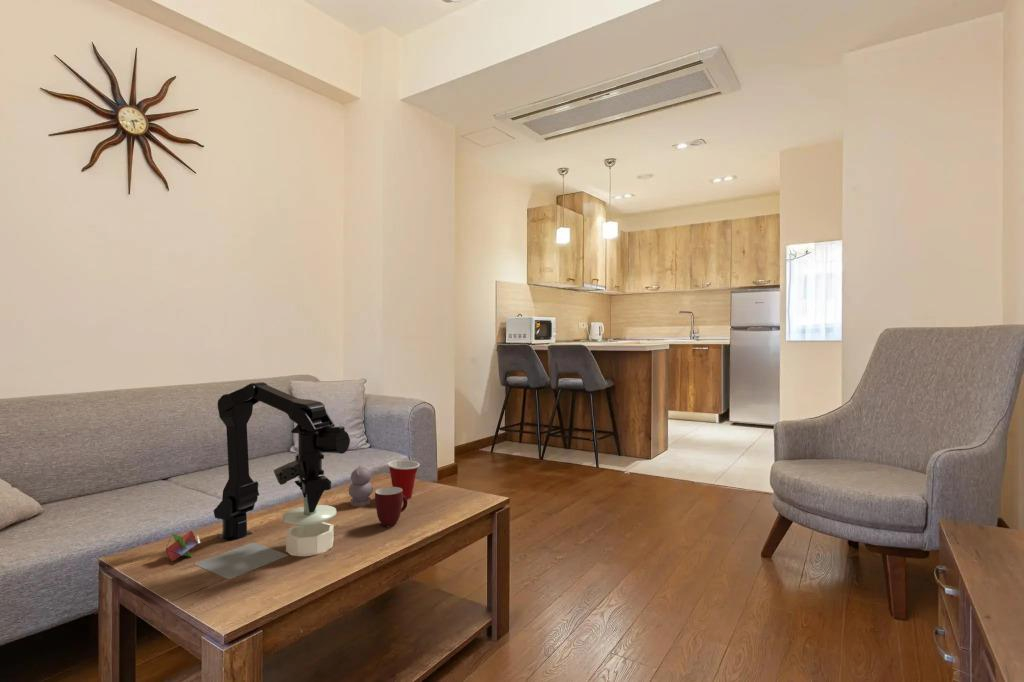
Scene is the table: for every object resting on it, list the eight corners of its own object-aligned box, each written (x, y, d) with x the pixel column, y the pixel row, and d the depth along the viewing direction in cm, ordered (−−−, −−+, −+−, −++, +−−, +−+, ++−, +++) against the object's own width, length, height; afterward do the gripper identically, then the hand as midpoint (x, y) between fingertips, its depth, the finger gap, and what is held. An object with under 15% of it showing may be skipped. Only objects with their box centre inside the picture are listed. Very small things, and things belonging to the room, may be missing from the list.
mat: (193, 566, 122) (193, 564, 122) (253, 544, 135) (253, 542, 135) (229, 581, 114) (229, 579, 114) (288, 557, 127) (288, 555, 127)
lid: (271, 519, 129) (271, 500, 129) (314, 504, 141) (314, 487, 141) (304, 529, 123) (304, 509, 123) (347, 513, 134) (347, 495, 134)
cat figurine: (371, 507, 165) (371, 470, 165) (346, 508, 164) (346, 471, 163) (374, 498, 173) (374, 463, 173) (350, 499, 172) (350, 464, 172)
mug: (394, 515, 157) (394, 483, 157) (414, 520, 153) (414, 487, 152) (368, 526, 148) (368, 492, 148) (389, 531, 143) (389, 496, 143)
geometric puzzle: (167, 561, 119) (188, 528, 123) (150, 556, 122) (171, 523, 127) (192, 570, 124) (211, 537, 129) (175, 564, 127) (195, 532, 132)
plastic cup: (415, 502, 169) (415, 467, 169) (383, 502, 169) (383, 466, 169) (422, 493, 180) (422, 459, 180) (392, 492, 180) (392, 458, 180)
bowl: (278, 551, 130) (278, 532, 130) (314, 537, 139) (314, 519, 139) (305, 561, 124) (305, 541, 124) (341, 545, 134) (341, 527, 134)
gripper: (270, 447, 135) (270, 506, 135) (283, 462, 119) (283, 528, 119) (314, 443, 141) (314, 498, 141) (331, 456, 126) (331, 518, 126)
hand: (310, 510), depth 132 cm, fingers closed on lid, 3 cm apart
